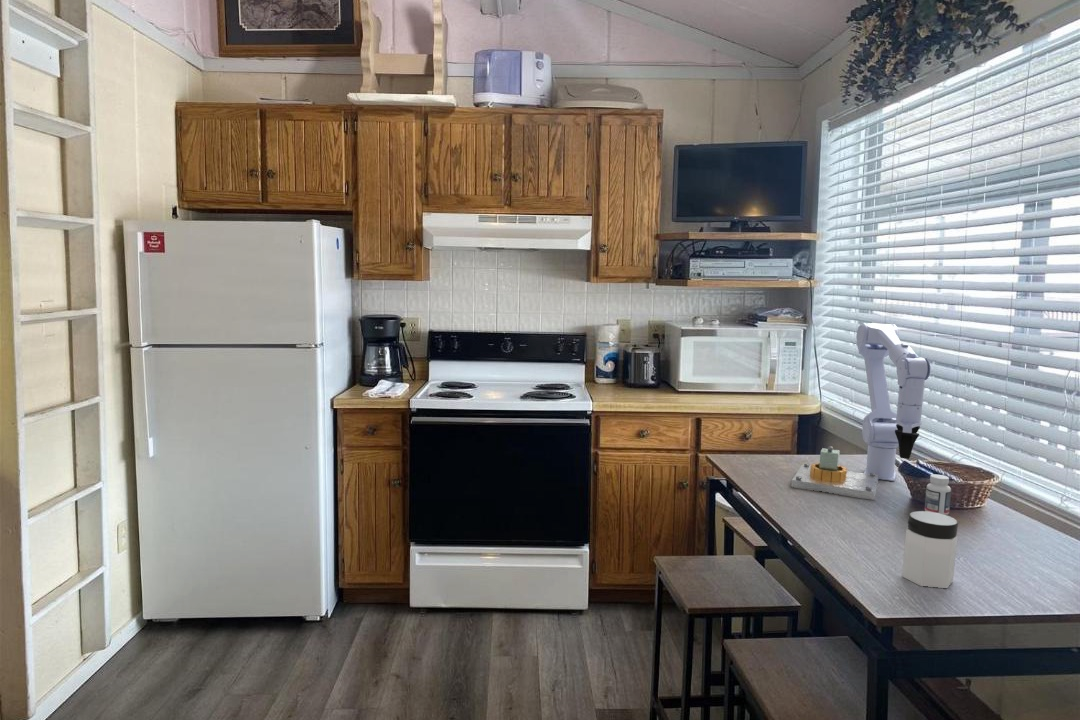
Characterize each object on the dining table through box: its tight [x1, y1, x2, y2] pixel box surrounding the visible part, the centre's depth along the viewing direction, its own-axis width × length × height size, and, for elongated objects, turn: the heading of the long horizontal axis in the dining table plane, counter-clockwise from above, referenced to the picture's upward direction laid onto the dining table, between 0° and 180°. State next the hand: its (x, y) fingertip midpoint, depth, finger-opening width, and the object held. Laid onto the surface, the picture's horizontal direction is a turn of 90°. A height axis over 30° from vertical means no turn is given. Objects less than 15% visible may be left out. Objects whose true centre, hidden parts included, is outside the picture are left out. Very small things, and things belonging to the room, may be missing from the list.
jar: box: [901, 510, 959, 589], centre depth 140 cm, size 9×8×12 cm
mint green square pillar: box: [819, 445, 841, 471], centre depth 201 cm, size 4×4×8 cm
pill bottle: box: [924, 473, 952, 516], centre depth 180 cm, size 5×5×9 cm
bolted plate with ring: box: [791, 462, 879, 501], centre depth 201 cm, size 18×20×4 cm
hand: (905, 454), depth 195 cm, fingers open, 7 cm apart
